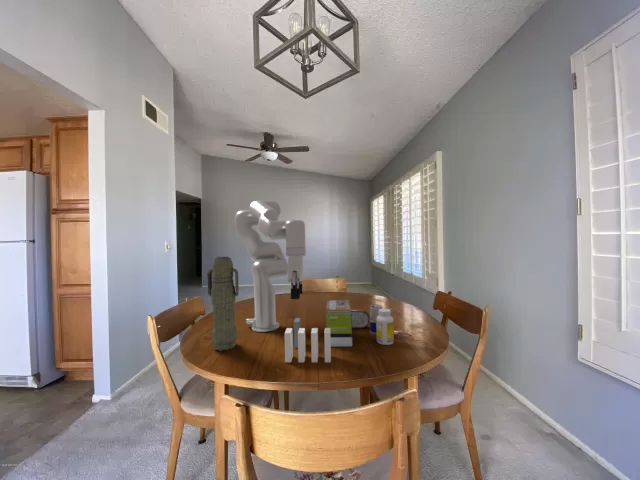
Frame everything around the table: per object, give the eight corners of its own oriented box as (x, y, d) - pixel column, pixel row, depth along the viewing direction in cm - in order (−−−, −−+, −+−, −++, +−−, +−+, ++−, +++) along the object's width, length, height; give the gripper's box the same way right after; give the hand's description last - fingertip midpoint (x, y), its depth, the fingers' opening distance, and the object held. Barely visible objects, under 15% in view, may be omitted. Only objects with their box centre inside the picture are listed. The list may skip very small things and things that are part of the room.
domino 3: (298, 362, 96) (297, 333, 96) (299, 355, 101) (299, 328, 101) (304, 362, 96) (303, 333, 95) (305, 356, 101) (305, 328, 100)
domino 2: (294, 348, 108) (293, 322, 108) (295, 343, 113) (295, 318, 113) (299, 348, 108) (298, 322, 108) (300, 343, 113) (300, 318, 113)
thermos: (213, 342, 115) (211, 256, 114) (242, 341, 115) (240, 256, 114) (204, 351, 106) (202, 258, 105) (236, 350, 106) (234, 257, 105)
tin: (369, 326, 131) (369, 308, 131) (370, 329, 128) (370, 310, 128) (337, 326, 133) (337, 308, 133) (337, 328, 130) (336, 310, 129)
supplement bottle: (394, 340, 114) (394, 308, 114) (393, 346, 108) (392, 312, 107) (377, 338, 116) (377, 307, 116) (375, 344, 110) (375, 311, 110)
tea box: (327, 333, 123) (327, 299, 123) (350, 333, 123) (350, 299, 123) (326, 347, 108) (325, 308, 108) (352, 347, 108) (352, 308, 108)
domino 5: (324, 362, 95) (324, 332, 95) (325, 356, 100) (324, 328, 100) (330, 362, 95) (330, 332, 95) (330, 355, 100) (330, 327, 100)
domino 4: (311, 362, 96) (311, 333, 95) (312, 356, 101) (312, 328, 100) (317, 362, 96) (317, 333, 95) (318, 356, 101) (317, 328, 100)
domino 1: (285, 362, 96) (284, 333, 96) (287, 356, 101) (286, 328, 101) (291, 362, 96) (290, 333, 96) (292, 356, 101) (292, 328, 101)
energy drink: (368, 331, 124) (368, 304, 124) (380, 331, 125) (379, 304, 125) (371, 335, 119) (371, 307, 119) (384, 335, 120) (383, 307, 119)
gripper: (289, 251, 118) (290, 292, 119) (282, 253, 101) (283, 301, 101) (307, 250, 118) (308, 291, 118) (303, 253, 101) (304, 301, 101)
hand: (296, 296), depth 110 cm, fingers open, 9 cm apart
